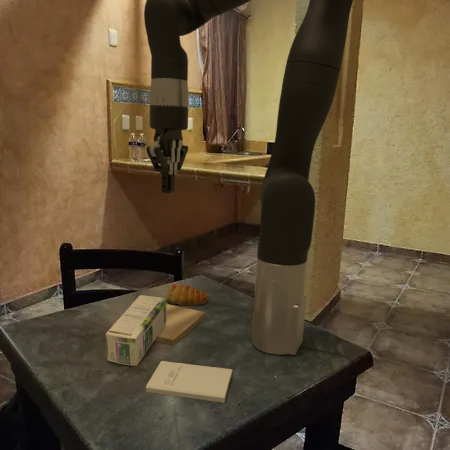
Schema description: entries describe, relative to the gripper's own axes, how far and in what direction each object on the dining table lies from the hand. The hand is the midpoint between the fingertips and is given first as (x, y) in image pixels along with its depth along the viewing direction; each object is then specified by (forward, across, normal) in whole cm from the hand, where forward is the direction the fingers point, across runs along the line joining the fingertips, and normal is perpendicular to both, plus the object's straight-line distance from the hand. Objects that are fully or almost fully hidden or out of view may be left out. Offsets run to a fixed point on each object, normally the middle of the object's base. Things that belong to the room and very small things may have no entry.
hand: (168, 192), depth 89 cm
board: (+27, -4, -1) cm, 27 cm away
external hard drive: (+28, -20, -16) cm, 38 cm away
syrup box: (+22, -7, -1) cm, 23 cm away
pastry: (+27, +10, +1) cm, 29 cm away
